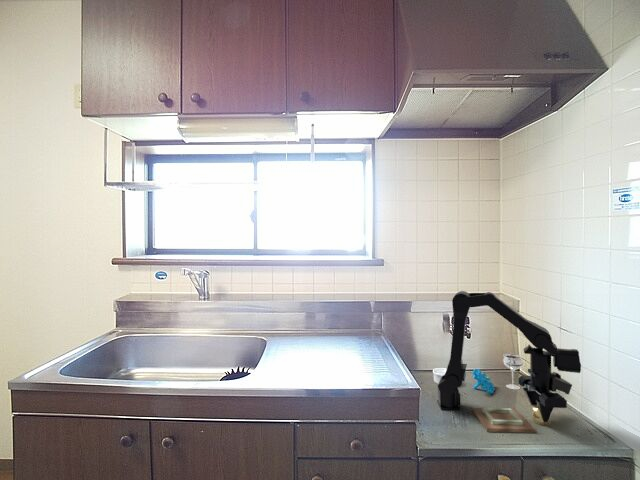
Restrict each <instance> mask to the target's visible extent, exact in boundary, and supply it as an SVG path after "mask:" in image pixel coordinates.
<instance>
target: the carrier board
mask: <svg viewBox="0 0 640 480" xmlns="http://www.w3.org/2000/svg"><path fill="white" fill-rule="evenodd" d="M471 411H472V412H473V414H474V415H475V417H476V418H477V420H478V421H479V423H480V424H481V425H482V427H483V428H484V429H485V431H486V432H490V433H491V432H493V433H494V432H495V433H527V434H528V433H532V434H534V433H535V434H536V428H535V427H534V426H533V425H532V424H531V423H530V422H529V421H528V420H527V419H526V418H525V417H524V416H523V415H522V414H521V413H520V412H519V411H518V409H516V408H515V407H476V406H475V407H472V408H471Z"/></svg>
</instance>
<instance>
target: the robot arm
mask: <svg viewBox="0 0 640 480" xmlns="http://www.w3.org/2000/svg"><path fill="white" fill-rule="evenodd" d="M451 302H452V312H453V313H452V314H453V329H452V337H451V338H452V339H451V348H450V357H449V361H448V364H447V368H446V369H447V370H446V373H445V374H444V375H443V376H442V377H441V379H440V382H439V384H437V393H438V394H437V395H438V396H437V397H438V398H437V400H436V402H437V405H438V406H439V408H440V410H443V411H445V410H447V411H450V410H454V411H461V393H460V391H459V390H460V389H459V387H461V386H462V383H463V382H465V380H466V376H467V373H466V369H467V366H468V364H467V363H463V353H464V351H463V350H464V343H465V333H466V323H467V318H468V314H469V311H470V308H479V307H487V306H488V307H489V308H490V309H492V310H493V311H494V312H495V313H496V314H498V315H499V316H501V317H502V318H503V319H504V320H506V321H508V322H509V323H510V324H511V325H513V327H515V328H516V329H518V330H519V332H521V334H523V336H524V337H525V338H526V340H528V341H529V342H530V343H531V344H528V345H527V346H526V347H524V348H523V353H524V354H527V355H530V356H529V358H530V360H529V361H530V367H529V368H527V373H529V375H520V376H519V377H518V385H520V387H523V388H522V389H523V391H524V393H525V395H526V397H527V399H528V401H529V403H530V406H531V407H532V405H535V404H537V405H538V407H539V410H540V413H541V416H542V419H543V421H544V422H548V420H549V417H550V418H551V415H552V411H553V410H554V409H559V408H560V409H567V408H568V400H567V399H566V398H565V397H563V396H562V395H561V394H559V393H558V392H557V391H559V392H563V393H564V394H566V395H570V392H571V389H572V387H573V384H572V383H570V381H567V380H566V379H564V378H562V376H561V374H559V372H567V373H568V372H569V373H576V374H581V373H582V364H581V359H580V352H579V350H578V349H575V348H571V349H569V348H568V349H567V348H558V346H557V345H556V343H554V342H553V339H552V335H551V334H550V331H548V330H547V328H545V327H543V326H541V325H540V324H538V323H536V322H533V321H532V320H529V319H528V318H525V317H524V316H523V315H522V314H520V313H519V312H517V311H516V310H515V309H513V308H512V307H511V306H509V305H508V304H506V303H505V302H504V301H503V300H501V299H500V298H498V297H497V296H496V294H494V293H493V292H470V293H469V292H467V291H464V290H461V291H458V292H456V294H455V295H454V296H453V297H452V300H451ZM531 345H533V346H531ZM552 365H553V367H554V368H556V369H557V371H558V372H556V371H553V372H552Z"/></svg>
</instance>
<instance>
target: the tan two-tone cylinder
mask: <svg viewBox="0 0 640 480" xmlns="http://www.w3.org/2000/svg"><path fill="white" fill-rule="evenodd" d="M531 420H532V422H533V423H534V424H536V425H538V426H546V427H547V426H550V425H551V416H550V417H549V420H548V422H544V421H543V419H542V416H541V413H540V410H539V407H538V405H537V404H535V405H532V406H531Z"/></svg>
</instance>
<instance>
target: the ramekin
mask: <svg viewBox="0 0 640 480" xmlns="http://www.w3.org/2000/svg"><path fill="white" fill-rule="evenodd" d="M446 370H447V368H445V367H438V368H437V367H436V368H433V370H432V373H433V382H434V383H435V384H437V385H438V384H439V382H440V379H441V377H442V376H443V375H444V374H445V373H446Z"/></svg>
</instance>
